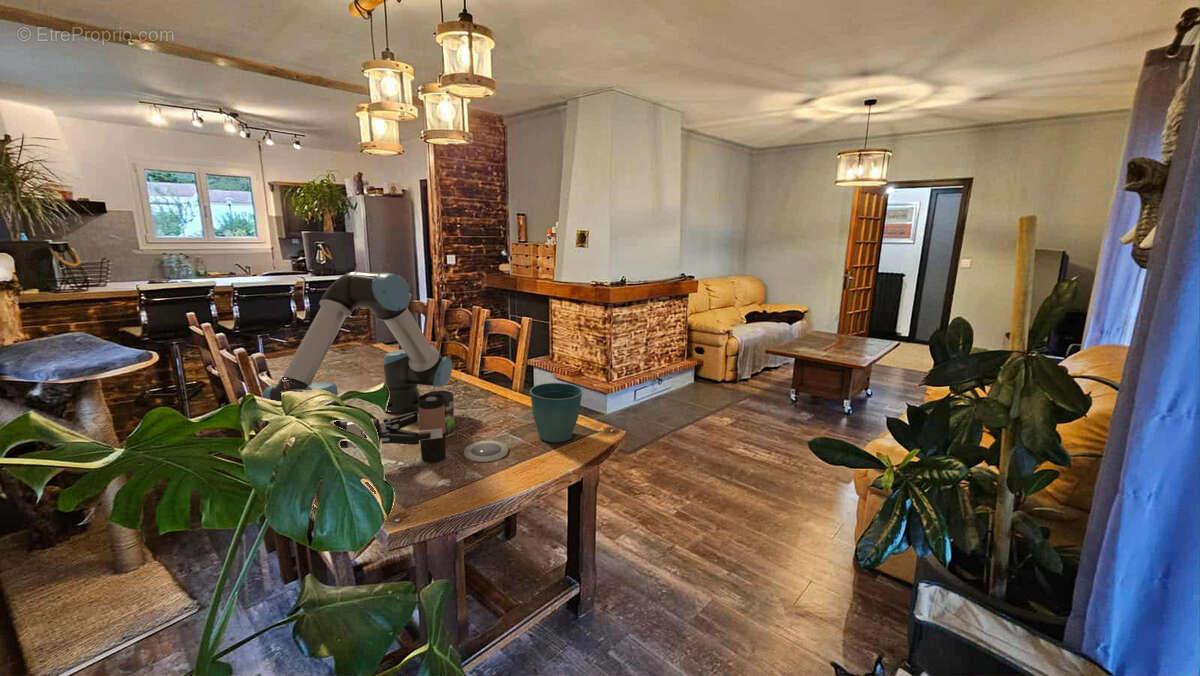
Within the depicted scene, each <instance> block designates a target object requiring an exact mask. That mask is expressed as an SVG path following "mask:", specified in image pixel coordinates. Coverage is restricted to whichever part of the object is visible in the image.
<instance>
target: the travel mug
mask: <svg viewBox="0 0 1200 676" xmlns="http://www.w3.org/2000/svg"><path fill="white" fill-rule="evenodd" d="M424 394H425V395H424ZM424 394H421V396H420V397H419V398H418V414H419V423H418V424H419V425H418V428H419V429H418V432H419V431H422V430H430V429H439V428H442V437H443V438H435V439H427V440H419V444H420V454H421V461H422V460H423V461H422V462H423V463H426V462H429V463H428V464H435V462H436V463H439V461H440V462H442V461H444V460H445V459H446V456H447V450H446V449H447V441H446V440H447V438H446V427H445V407H444V396H443V395H442V394H436V395H429V394H426V393H424ZM443 459H444V460H443Z"/></svg>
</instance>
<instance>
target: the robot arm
mask: <svg viewBox="0 0 1200 676" xmlns="http://www.w3.org/2000/svg"><path fill="white" fill-rule="evenodd" d="M410 291H411V289H410V286H409V284H408V282H407V281H406V280H405V278H404V277H402V276H401V275H399V274H395V273H390V272H374V271H373V272H371V271H359V270H357V271H351V272H347V273H345V274H343V275H341V276H340V277H338V278H337V279H336V280H335V281H333V282H332V284H330V285H329V286H328V288H327V289H326V291H325V292H324V294H323V295H322V297H321V299H320V300H319V302H318V303H319V306H320V308H319V310H318V312H317V313H316V315H315V316H314V319H313V321H312V322H311V324H310V326H309V328H308V329H307V331H306V333H305V334H304V336H303V339H302V340H301V342H300V344H299V346H298V347H297V349H296V351H295V353H294V355H293V357H292V358H291V360H290V362H289V364H288V366H287V368H286V369H285V371H284V373H283V375H282V376H281V379H280V380H279V382H278V383H277V384H271V385H268V387H267V388H265V389H264V390H263V392H262V395H261V398H262V397H263V398H267V399H271V400H276V401H280V392H281V391H282V390H286V391H299V392H303V391H307V390H312V389H323V390H326V391H329V392H331V393H333V394H335V395H338V396H339V394H338V392H339V391H338V386H337V385H336V384H335V383H334V382H332V381H325V382H324V381H321V382H320V381H319V382H315V383H312V382H313V380H314V379H315V376H316V375H317V373H318V371H319V370H320V367H321V366H322V363H323V361H324V360H325V358H326V356H327V353H328V352H329V350H330V348H331V346H332V344H333V343H334V340H335V338H336V337H337V335H338V333H339V331H340V329H341V327H342V326H343V324H344V322H345V319H346V318H349V317H351V316H352V313H353V312H354V311H355V310H356V309H358V308H360V309H361V308H362V309H368V310H370V311H371V312H372V314H373V315H374V317H375V318H376V319H377V320H379V321H383V322H384V323H385V324H386V326H387V328H388V329H389V331H390V332H391V333H392V335H393V337H394V338H395V340H396V341H397V342H398V344H399V346H400V347H401V348H402V349H397V350H392V351H390V352H386V353H385V354H384V357H383V370H384V371H383V372H384V383H385V384H386V385H387V386H388V388H389V391H390V399H389V402H388V406H387V412H386V413H388V410H389V411H391V412H393V413H392V414H400V415H397V416H396V415H395V416H393V417H392V416H391V417H388V418H383V419H382V423H381V422H380V420H379V418H373V419H374V420H373V422H374V425H375V427H376V429H377V432H378V436H379V444H380V442H381V444H382V445H384V444H385V445H387V444H394V445H395V444H397V445H411V446H412V445H413V446H414V445H419V444H420V440H427V439H435V438H443V437H442V428H439V429H430V430H422V431H419V430H418V432H416V431H413V430H412V431H411V430H406V429H403V428H405V427H408V426H411V425H413V424H415V423H418V424H419V413H418V411H419V409H418V398H419V397H420V396H422V394H421V393H420V390H419V387H418V385H419V386H429V387H434V388H435V387H439V388H441V387H444V386H446V385H447V384H448V382H449V381H450V378H451V376H452V371H453V362H452V360H451V358H450V357H447V356H442V355H441V353H440V352H439V350H438V349H437V348H436V347H432V346H431V345H430V343H429V342H428V339H427V338H426V337H425V335H424V333H423V331H422V329H420V327H419V325H418V323H417V322H416V320H415V318H414V316H413V315H412V313H411V312H410V311H411V310H409V304H410V300H411V293H410ZM284 378H287V379H286V380H290V381H291V382H292V384H291V383H290V381H289V385H290V387H289V388H287V389H285V388H284V386H283V385H284V382H283V381H282V379H283V380H284ZM290 378H291V379H290ZM293 382H294V383H295V386H294V384H293ZM386 385H385V386H386ZM339 397H340V396H339ZM417 410H418V411H417ZM334 424H335V425H336V426H338V427H341V428H343V429H345V430H347V431H350V432H352V433H355V434H358V435H360V436H362V437H364V438H367V437H366V435H365V434H364V433H363V431H362V430H361V429H360V428H359V427H357V426H356V425H355V424H354V423H352V422H350V420H349V421H344V422H343V421H341V420H340V421H336V422H334ZM340 446H341V448H342V449H348V448H350V449H351V448H352V449H357V447H356V446H354V445H353V444H352V443H350V442H348V441H341V442H340Z"/></svg>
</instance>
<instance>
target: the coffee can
mask: <svg viewBox="0 0 1200 676" xmlns="http://www.w3.org/2000/svg"><path fill="white" fill-rule="evenodd" d="M425 394H429V395H436V394H442V395H443V396H444V407H445V427H446V437H447V438H449V436H450V437H451V435H452V436H453V435H454V434H455V432H456V431H455V410H454V406H455V405H454V396H455V395H454V392H452V391H450V390H433V391H430V392H426V393H424V394H423V395H425Z"/></svg>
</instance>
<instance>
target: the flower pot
mask: <svg viewBox="0 0 1200 676" xmlns="http://www.w3.org/2000/svg"><path fill="white" fill-rule="evenodd" d="M529 395H530V400H531V411H532V416H533V417H532V418H533V421H534V423H535V427H536V429H537V434H538V438H539V439H541V440H542V441H545V442H547V443H563V442H567V441H569V440H570V439H572V438H573V435H574V434H573V433H574V429H575V427H576V424H577V422H578V420H579V416H580V415H579V414H580V409H581V401H582V395H583V389H582V388H581V387H579V386H577V385H575V384H571V383H564V382H547V383H541V384H537V385H534V386H533V387H531V388H530V390H529Z"/></svg>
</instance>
